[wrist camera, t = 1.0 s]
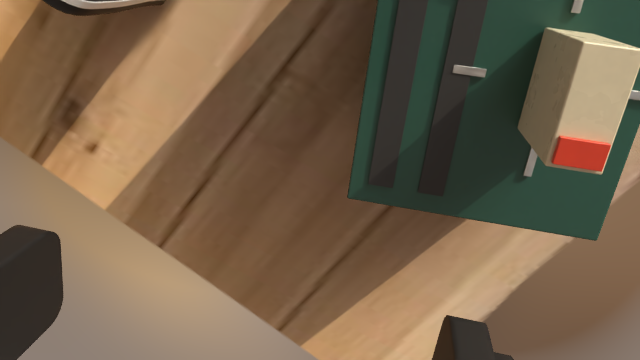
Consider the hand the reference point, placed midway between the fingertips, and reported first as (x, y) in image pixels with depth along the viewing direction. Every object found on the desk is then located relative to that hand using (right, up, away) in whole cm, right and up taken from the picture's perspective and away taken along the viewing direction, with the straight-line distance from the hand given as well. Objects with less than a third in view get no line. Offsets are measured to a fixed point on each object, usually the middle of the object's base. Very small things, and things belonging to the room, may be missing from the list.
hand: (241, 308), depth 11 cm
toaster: (+11, +10, +22) cm, 27 cm away
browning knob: (+12, +7, +12) cm, 18 cm away
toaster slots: (+6, +6, +13) cm, 16 cm away
